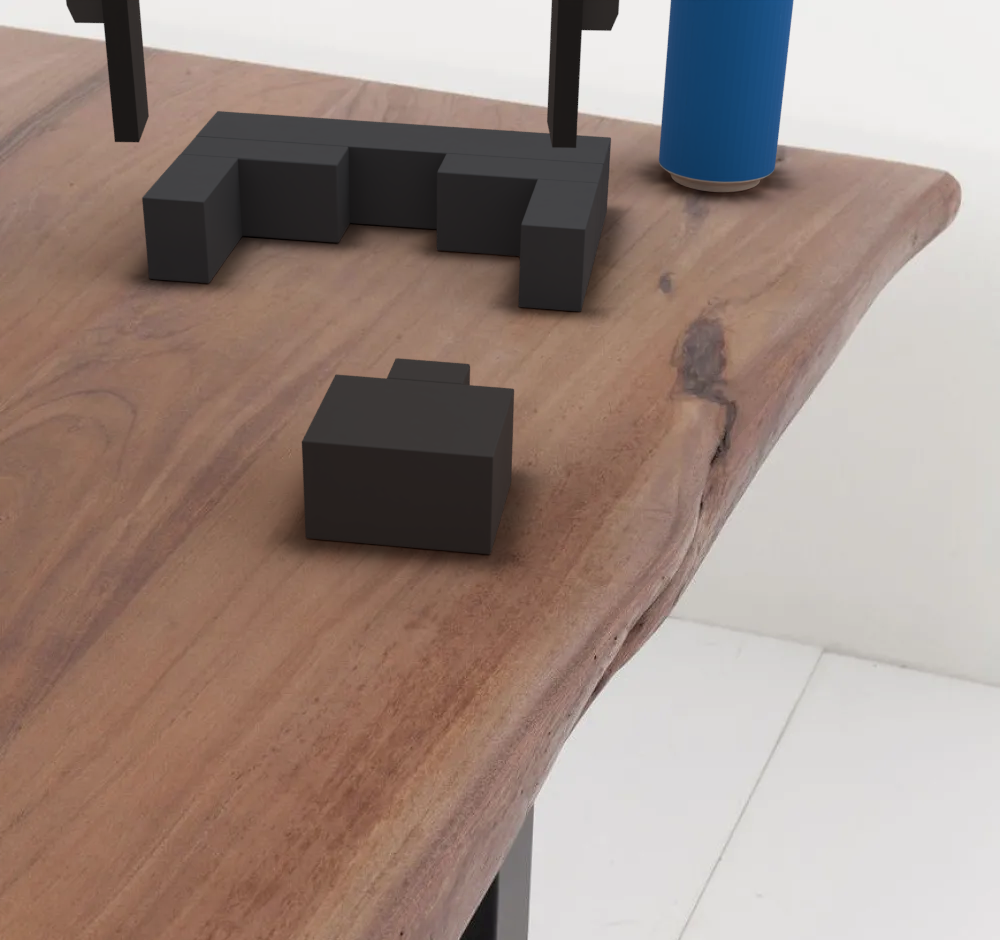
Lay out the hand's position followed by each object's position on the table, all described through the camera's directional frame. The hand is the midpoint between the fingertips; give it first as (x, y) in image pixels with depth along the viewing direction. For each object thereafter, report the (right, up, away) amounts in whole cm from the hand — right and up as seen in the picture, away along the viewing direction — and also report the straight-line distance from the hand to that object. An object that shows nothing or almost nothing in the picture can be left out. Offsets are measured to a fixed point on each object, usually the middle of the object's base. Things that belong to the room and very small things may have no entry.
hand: (347, 133), depth 60 cm
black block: (+1, -10, +13) cm, 16 cm away
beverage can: (+17, +13, +46) cm, 50 cm away
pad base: (-1, +6, +36) cm, 36 cm away
